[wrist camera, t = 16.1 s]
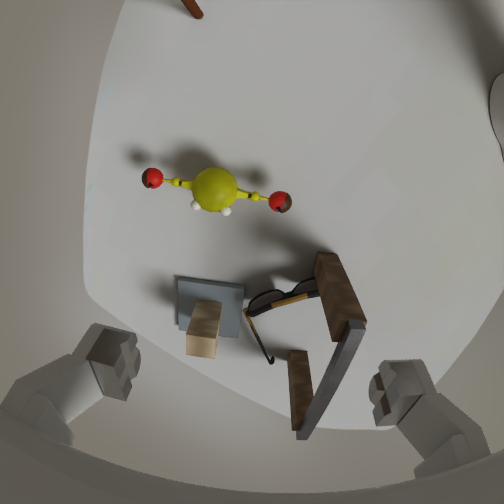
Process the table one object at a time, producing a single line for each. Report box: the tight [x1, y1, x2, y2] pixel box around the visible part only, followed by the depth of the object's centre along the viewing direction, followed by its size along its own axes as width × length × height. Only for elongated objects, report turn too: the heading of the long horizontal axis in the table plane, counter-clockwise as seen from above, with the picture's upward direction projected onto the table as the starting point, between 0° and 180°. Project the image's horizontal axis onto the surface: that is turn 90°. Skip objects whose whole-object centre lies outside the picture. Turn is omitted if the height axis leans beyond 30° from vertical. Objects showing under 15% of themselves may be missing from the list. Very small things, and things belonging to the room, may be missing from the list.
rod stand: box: [287, 252, 367, 431], centre depth 40 cm, size 3×22×15 cm, turn 173°
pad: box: [178, 277, 245, 338], centre depth 46 cm, size 10×10×1 cm
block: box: [186, 300, 223, 359], centre depth 42 cm, size 4×4×8 cm
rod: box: [296, 319, 366, 440], centre depth 32 cm, size 2×23×2 cm, turn 173°
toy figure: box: [142, 167, 292, 216], centre depth 34 cm, size 18×6×7 cm, turn 78°
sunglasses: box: [243, 278, 320, 365], centre depth 44 cm, size 14×15×5 cm
